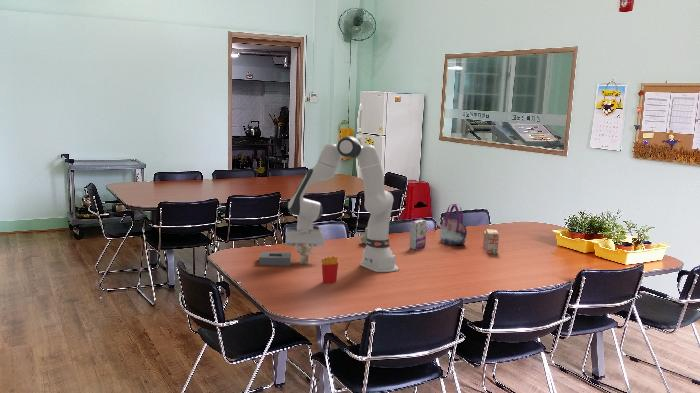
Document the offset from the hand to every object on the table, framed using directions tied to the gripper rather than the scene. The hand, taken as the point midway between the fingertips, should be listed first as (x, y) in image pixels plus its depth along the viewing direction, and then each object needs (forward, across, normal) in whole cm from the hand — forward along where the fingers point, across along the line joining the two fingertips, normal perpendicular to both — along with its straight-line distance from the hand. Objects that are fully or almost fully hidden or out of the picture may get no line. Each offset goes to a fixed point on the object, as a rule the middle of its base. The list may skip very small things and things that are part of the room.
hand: (304, 252), depth 309 cm
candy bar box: (-25, +68, +34) cm, 80 cm away
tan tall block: (+4, 0, +5) cm, 6 cm away
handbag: (-35, +93, +44) cm, 108 cm away
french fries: (+28, +12, -19) cm, 35 cm away
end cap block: (+4, -15, +5) cm, 16 cm away
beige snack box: (-24, +112, +33) cm, 120 cm away
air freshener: (-30, +39, +38) cm, 62 cm away
